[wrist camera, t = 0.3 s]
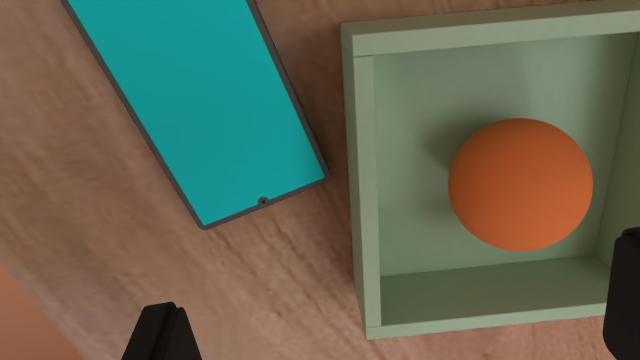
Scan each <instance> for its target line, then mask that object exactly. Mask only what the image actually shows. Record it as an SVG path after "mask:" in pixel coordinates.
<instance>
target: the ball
mask: <svg viewBox="0 0 640 360" xmlns="http://www.w3.org/2000/svg"><path fill="white" fill-rule="evenodd" d="M592 191H593V178H592V173H591V168H590V165H589V162H588V160H587V158H586V156H585V154H584V152H583V150H582V149H581V148H580V147H579V145H578V144H577V143H576V142H575V141H574V139H572V138H571V137H570V136H569V135H568V134H566V133H565V132H564V131H562V130H561V129H559V128H557V127H555V126H553V125H551V124H548V123H546V122H543V121H539V120H535V119H528V118H513V119H506V120H501V121H497V122H494V123H492V124H490V125H487V126H485V127H483V128H482V129H480V130H478V131H477V132H475V133H474V134H473V135H472V136H470V137H469V138H468V139H467V140H466V141H465V142H464V144H463V145H462V146H461V147H460V149H459V150H458V152H457V154H456V155H455V157H454V159H453V162H452V164H451V168H450V172H449V178H448V192H449V197H450V202H451V205H452V207H453V210H454V212H455V214H456V215H457V217H458V219H459V220H460V222H461V223H462V224H463V226H464V227H465V228H466V229H467V230H468V231H469V232H470V233H471V234H473V235H474V236H475V237H477V238H478V239H479V240H481V241H483V242H485V243H487V244H489V245H491V246H493V247H496V248H499V249H504V250H509V251H533V250H538V249H542V248H545V247H548V246H551V245H553V244H555V243H557V242H559V241H560V240H562V239H564V238H565V237H566V236H568V235H569V234H570V233H571V232H572V231H573V230H574V229H575V228H576V227H577V226H578V225H579V224H580V222H581V221H582V219H583V218H584V216H585V214H586V212H587V210H588V208H589V205H590V202H591V198H592Z"/></svg>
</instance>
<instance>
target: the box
mask: <svg viewBox="0 0 640 360" xmlns="http://www.w3.org/2000/svg"><path fill="white" fill-rule="evenodd" d="M340 35H341V53H342V71H343V89H344V107H345V125H346V143H347V161H348V179H349V197H350V214H351V232H352V250H353V268H354V286H355V290H356V295H357V300H358V305H359V309H360V314H361V319H362V324H363V328H364V333H365V338H366V340H371V339H381V338H390V337H400V336H409V335H419V334H429V333H438V332H448V331H457V330H467V329H476V328H486V327H496V326H505V325H515V324H524V323H534V322H544V321H553V320H563V319H572V318H582V317H592V316H601V315H605V311H606V303H607V296H608V288H609V281H610V273H611V266H612V258H613V251H614V243H615V240H616V239H617V238H618V237H621V234H622V232H623V231H624V230H625V229H627V228H633V227H639V226H640V0H595V1H584V2H572V3H561V4H549V5H538V6H526V7H515V8H503V9H491V10H480V11H468V12H457V13H445V14H434V15H422V16H411V17H399V18H388V19H376V20H364V21H353V22H341V23H340ZM513 118H528V119H535V120H539V121H543V122H546V123H548V124H551V125H553V126H555V127H557V128H559V129H561V130H562V131H564V132H565V133H566V134H568V135H569V136H570V137H571V138H572V139H574V141H575V142H576V143H577V144H578V145H579V147H580V148H581V149H582V150H583V152H584V154H585V156H586V158H587V160H588V162H589V165H590V168H591V173H592V178H593V191H592V198H591V202H590V205H589V208H588V210H587V212H586V214H585V216H584V218H583V219H582V221H581V222H580V224H579V225H578V226H577V227H576V228H575V229H574V230H573V231H572V232H571V233H570V234H569V235H568V236H566V237H565V238H564V239H562V240H560V241H559V242H557V243H555V244H553V245H551V246H548V247H545V248H542V249H538V250H533V251H509V250H504V249H499V248H496V247H493V246H491V245H489V244H487V243H485V242H483V241H481V240H479V239H478V238H477V237H475V236H474V235H473V234H471V233H470V232H469V231H468V230H467V229H466V228H465V227H464V226H463V224H462V223H461V222H460V220H459V219H458V217H457V215H456V214H455V212H454V210H453V207H452V205H451V202H450V197H449V192H448V178H449V172H450V168H451V164H452V162H453V159H454V157H455V155H456V154H457V152H458V150H459V149H460V147H461V146H462V145H463V144H464V142H465V141H466V140H467V139H468V138H469V137H470V136H472V135H473V134H474V133H475V132H477V131H478V130H480V129H482V128H483V127H485V126H487V125H490V124H492V123H494V122H497V121H501V120H506V119H513Z"/></svg>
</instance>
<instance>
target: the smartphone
mask: <svg viewBox="0 0 640 360" xmlns="http://www.w3.org/2000/svg"><path fill="white" fill-rule="evenodd" d="M60 1H61V2H62V4H63V6H64V7H65V9H66V11H67V12H68V14H69V16H70V17H71V19H72V20H73V22H74V24H75V25H76V27H77V29H78V30H79V32H80V34H81V35H82V37H83V38H84V40H85V42H86V43H87V45H88V47H89V48H90V50H91V52H92V53H93V55H94V57H95V58H96V60H97V61H98V63H99V65H100V66H101V68H102V70H103V71H104V73H105V75H106V76H107V78H108V80H109V81H110V83H111V84H112V86H113V88H114V89H115V91H116V93H117V94H118V96H119V98H120V99H121V101H122V102H123V104H124V106H125V107H126V109H127V111H128V113H129V115H130V116H131V118H132V119H133V121H134V123H135V124H136V125H137V127H138V129H139V130H140V132H141V134H142V135H143V137H144V139H145V140H146V142H147V144H148V146H149V147H150V149H151V151H152V152H153V154H154V156H155V157H156V159H157V160H158V162H159V164H160V165H161V167H162V169H163V170H164V172H165V174H166V175H167V177H168V178H169V180H170V182H171V183H172V185H173V187H174V188H175V190H176V192H177V193H178V195H179V196H180V198H181V199H182V201H183V203H184V204H185V206H186V208H187V209H188V211H189V212H190V214H191V216H192V217H193V219H194V221H195V222H196V224H197V226H198V227H199V228H200V229H202V230H208V229H211V228H213V227H216V226H218V225H221V224H223V223H226V222H228V221H231V220H233V219H236V218H238V217H241V216H243V215H246V214H248V213H251V212H253V211H256V210H258V209H261V208H264V207H266V206H269V205H271V204H273V203H276V202H278V201H281V200H283V199H286V198H288V197H291V196H293V195H296V194H298V193H301V192H303V191H306V190H308V189H311V188H313V187H316V186H318V185H321V184H323V183H326V182H327V181H328V180H329V179H330V171H329V167H328V165H327V163H326V160H325V158H324V156H323V154H322V151H321V149H320V147H319V145H318V142H317V140H316V138H315V136H314V133H313V131H312V129H311V127H310V124H309V122H308V120H307V117H306V115H305V113H304V111H303V108H302V106H301V104H300V102H299V99H298V97H297V95H296V93H295V90H294V88H293V86H292V84H291V81H290V79H289V77H288V74H287V72H286V70H285V68H284V65H283V63H282V61H281V59H280V56H279V54H278V52H277V50H276V47H275V45H274V43H273V41H272V38H271V36H270V34H269V31H268V29H267V27H266V25H265V22H264V20H263V18H262V16H261V13H260V11H259V9H258V7H257V4H256V2H255V0H60Z"/></svg>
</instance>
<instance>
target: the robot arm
mask: <svg viewBox="0 0 640 360" xmlns="http://www.w3.org/2000/svg"><path fill="white" fill-rule="evenodd" d="M603 339H604V342H605V344H606V346H607V348H608V350H609V351H610V352H611V353H612V355H613V356H614V357H615V358H616V359H617V360H640V226H639V227H633V228H627V229H625V230H624V231H623V232H622V234H621V237H618V238H617V239H616V240H615V243H614V251H613V258H612V266H611V273H610V281H609V288H608V296H607V303H606V311H605V318H604V326H603ZM121 360H202V358H201V355H200V352H199V349H198V346H197V343H196V340H195V338H194V335H193V332H192V329H191V326H190V323H189V320H188V317H187V314H186V312H185V309H184V308H183V307H179V308H177V307H176V305H175V304H174V303H173V302H167V303H161V304H154V305H148V306H145V307H144V309H143V310H142V312H141V315H140V317H139V319H138V322H137V324H136V326H135V329H134V331H133V333H132V336H131V338H130V340H129V343H128V345H127V347H126V350H125V352H124V354H123V357H122V359H121Z"/></svg>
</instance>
